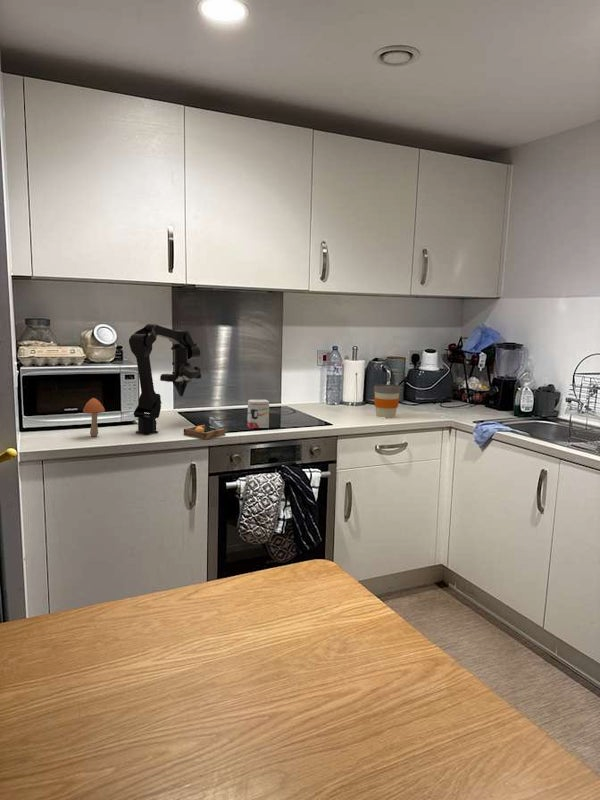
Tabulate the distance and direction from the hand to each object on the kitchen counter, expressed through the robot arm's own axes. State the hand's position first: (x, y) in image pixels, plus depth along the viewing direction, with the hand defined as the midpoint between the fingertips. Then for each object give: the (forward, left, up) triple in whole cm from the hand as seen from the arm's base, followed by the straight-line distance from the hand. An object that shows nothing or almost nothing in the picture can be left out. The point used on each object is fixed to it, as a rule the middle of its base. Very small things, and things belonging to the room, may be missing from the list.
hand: (181, 396), depth 246 cm
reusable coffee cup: (+78, -59, -12) cm, 98 cm away
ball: (-11, -22, -10) cm, 27 cm away
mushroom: (-39, +6, -12) cm, 41 cm away
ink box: (+16, -30, -12) cm, 36 cm away
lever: (+2, -18, -12) cm, 22 cm away
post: (+4, -16, -12) cm, 20 cm away
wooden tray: (-10, -23, -12) cm, 28 cm away
